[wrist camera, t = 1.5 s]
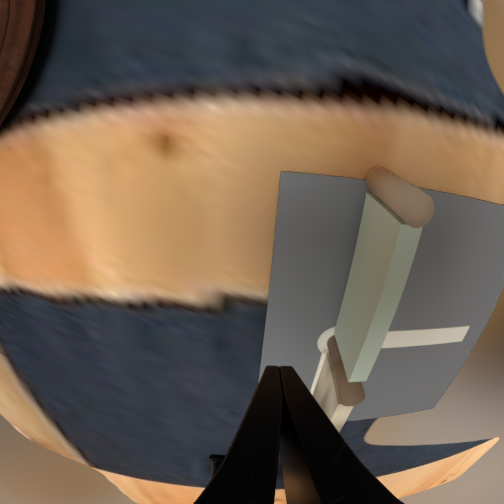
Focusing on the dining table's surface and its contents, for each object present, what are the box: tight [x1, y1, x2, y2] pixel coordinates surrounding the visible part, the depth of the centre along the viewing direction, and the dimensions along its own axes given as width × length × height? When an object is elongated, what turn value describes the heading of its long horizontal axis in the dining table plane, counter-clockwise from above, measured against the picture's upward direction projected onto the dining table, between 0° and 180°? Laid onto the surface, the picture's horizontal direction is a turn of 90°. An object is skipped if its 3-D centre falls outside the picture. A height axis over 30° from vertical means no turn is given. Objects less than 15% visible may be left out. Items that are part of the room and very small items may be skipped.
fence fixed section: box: [313, 335, 366, 432], centre depth 22 cm, size 13×2×6 cm, turn 176°
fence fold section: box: [334, 166, 434, 382], centre depth 16 cm, size 12×2×5 cm, turn 176°
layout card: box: [258, 171, 504, 421], centre depth 22 cm, size 24×21×1 cm
